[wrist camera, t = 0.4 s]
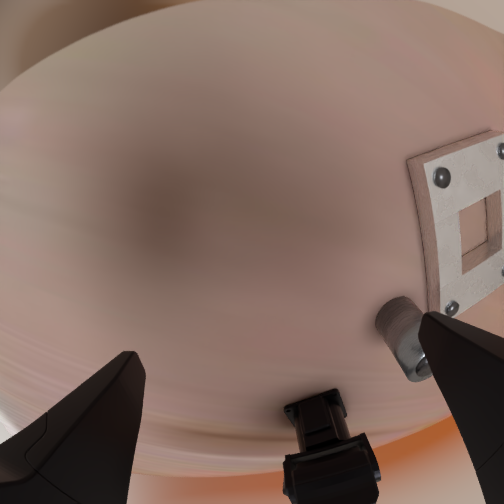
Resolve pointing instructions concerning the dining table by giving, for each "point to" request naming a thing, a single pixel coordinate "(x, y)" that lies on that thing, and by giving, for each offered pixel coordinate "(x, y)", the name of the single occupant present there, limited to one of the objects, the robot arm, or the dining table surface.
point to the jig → (447, 219)
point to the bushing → (404, 336)
